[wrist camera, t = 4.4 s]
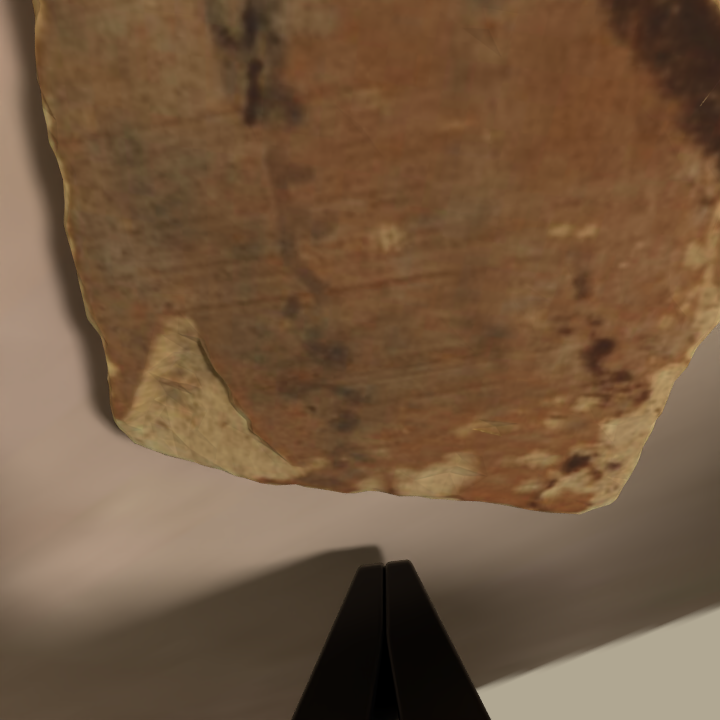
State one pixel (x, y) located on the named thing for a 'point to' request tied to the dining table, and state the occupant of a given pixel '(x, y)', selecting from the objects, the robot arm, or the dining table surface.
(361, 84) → the shard
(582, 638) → the dining table surface
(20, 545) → the dining table surface
